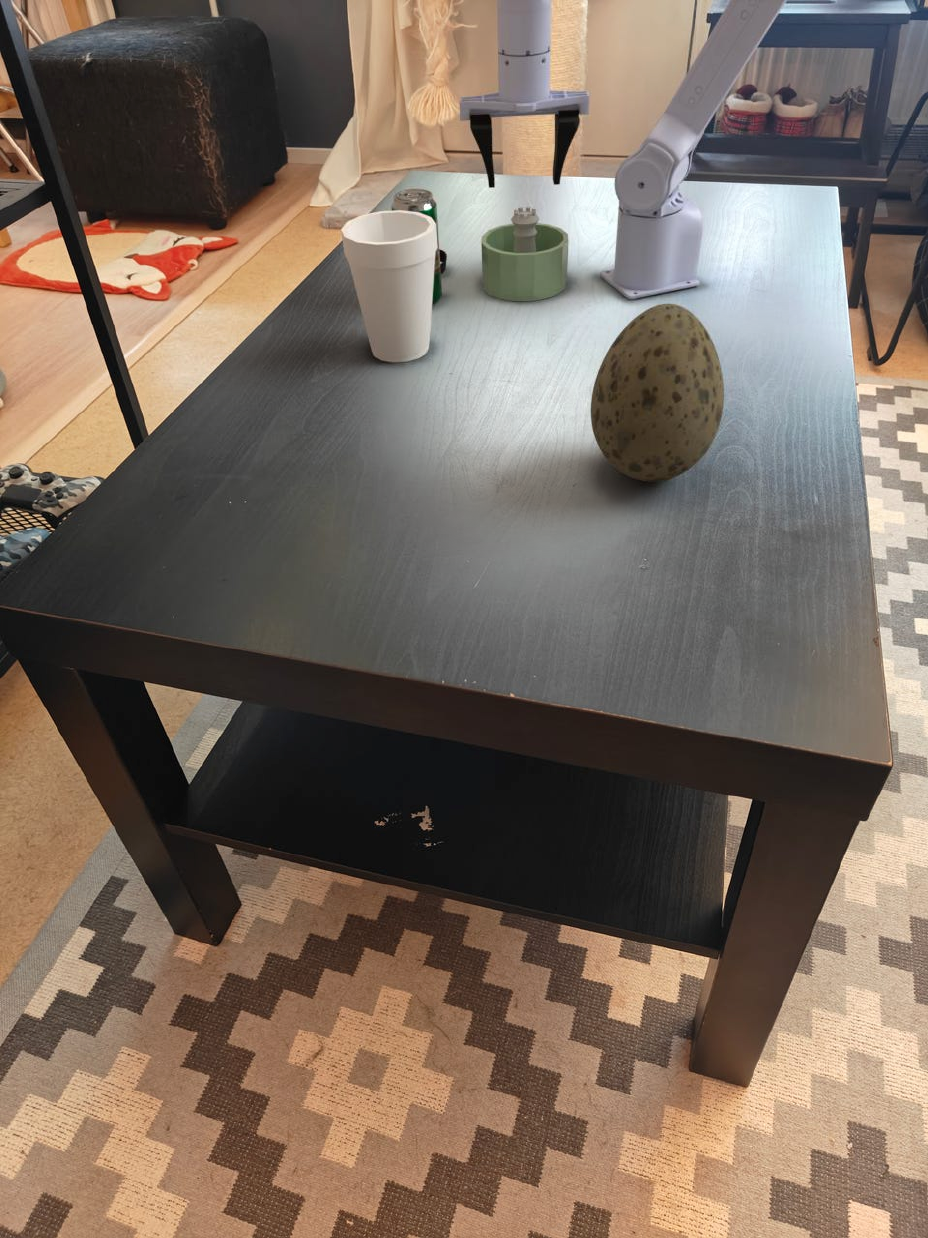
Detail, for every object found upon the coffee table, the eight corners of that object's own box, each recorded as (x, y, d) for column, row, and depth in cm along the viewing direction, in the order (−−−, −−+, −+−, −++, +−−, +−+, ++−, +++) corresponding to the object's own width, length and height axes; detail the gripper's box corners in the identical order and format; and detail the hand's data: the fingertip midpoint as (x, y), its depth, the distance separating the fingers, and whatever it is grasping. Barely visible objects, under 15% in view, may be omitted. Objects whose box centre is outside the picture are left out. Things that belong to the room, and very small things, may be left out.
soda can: (437, 310, 105) (430, 203, 97) (395, 308, 106) (385, 201, 98) (446, 292, 108) (440, 187, 100) (405, 290, 109) (396, 186, 101)
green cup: (545, 261, 114) (546, 217, 110) (580, 291, 107) (582, 245, 103) (470, 276, 112) (469, 230, 108) (501, 307, 105) (500, 260, 101)
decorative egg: (732, 462, 79) (764, 297, 69) (673, 523, 73) (698, 351, 63) (626, 427, 84) (641, 268, 74) (563, 481, 78) (569, 316, 68)
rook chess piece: (532, 289, 107) (532, 219, 101) (499, 282, 108) (498, 213, 103) (549, 275, 109) (551, 207, 104) (517, 269, 111) (517, 201, 106)
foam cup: (377, 377, 94) (362, 251, 85) (344, 343, 100) (327, 222, 91) (458, 354, 96) (451, 230, 88) (421, 322, 103) (412, 204, 94)
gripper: (457, 62, 94) (463, 197, 104) (595, 55, 94) (588, 191, 103) (457, 47, 100) (463, 177, 109) (588, 41, 99) (582, 172, 108)
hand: (523, 183), depth 106 cm, fingers open, 7 cm apart
